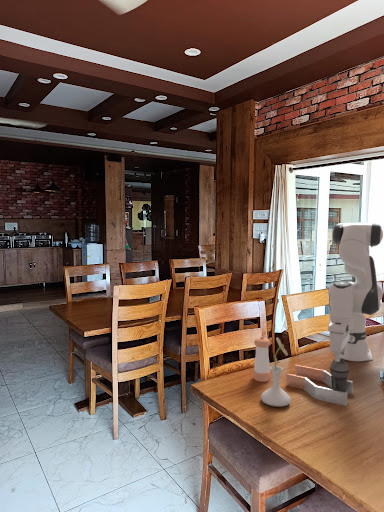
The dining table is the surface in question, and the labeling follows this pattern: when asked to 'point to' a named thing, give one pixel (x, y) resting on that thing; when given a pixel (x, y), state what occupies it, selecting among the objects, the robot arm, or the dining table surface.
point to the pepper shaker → (261, 360)
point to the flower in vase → (276, 386)
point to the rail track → (316, 391)
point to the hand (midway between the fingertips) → (340, 357)
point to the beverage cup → (339, 375)
